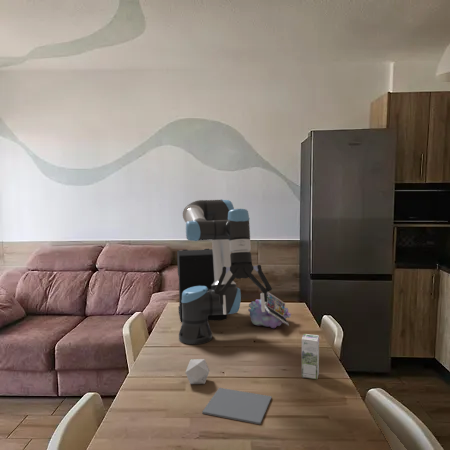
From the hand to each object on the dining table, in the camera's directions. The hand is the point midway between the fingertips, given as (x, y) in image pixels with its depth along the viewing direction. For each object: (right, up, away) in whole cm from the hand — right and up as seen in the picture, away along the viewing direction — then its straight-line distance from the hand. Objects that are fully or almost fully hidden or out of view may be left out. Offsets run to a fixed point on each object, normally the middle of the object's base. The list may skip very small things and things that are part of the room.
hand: (244, 313), depth 135 cm
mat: (-3, -26, -14) cm, 29 cm away
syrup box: (+24, -24, +6) cm, 35 cm away
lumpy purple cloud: (+16, -19, +60) cm, 65 cm away
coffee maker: (-17, -18, +75) cm, 79 cm away
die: (-16, -25, +2) cm, 30 cm away
